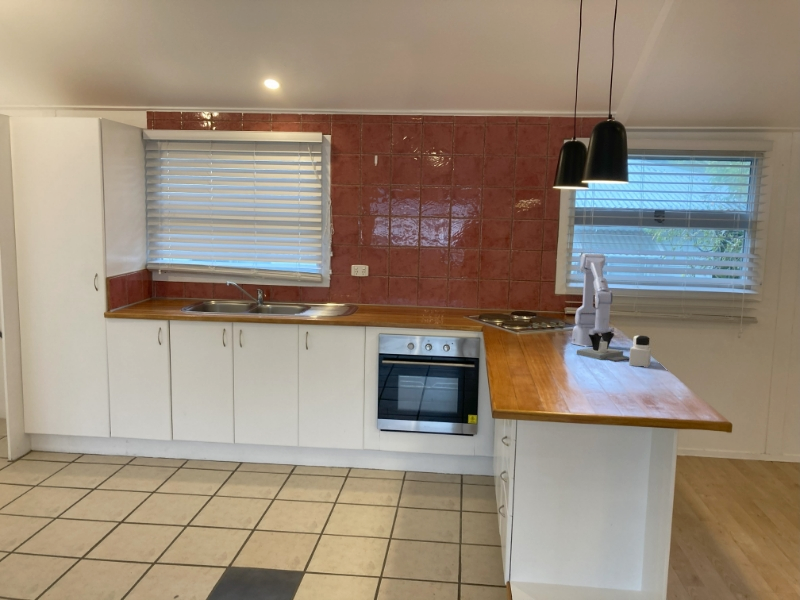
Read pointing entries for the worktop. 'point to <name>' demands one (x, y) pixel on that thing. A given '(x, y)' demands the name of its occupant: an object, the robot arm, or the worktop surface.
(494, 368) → the worktop surface
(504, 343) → the worktop surface
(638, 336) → the medicine bottle
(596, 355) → the plate
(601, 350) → the charger
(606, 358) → the phone
